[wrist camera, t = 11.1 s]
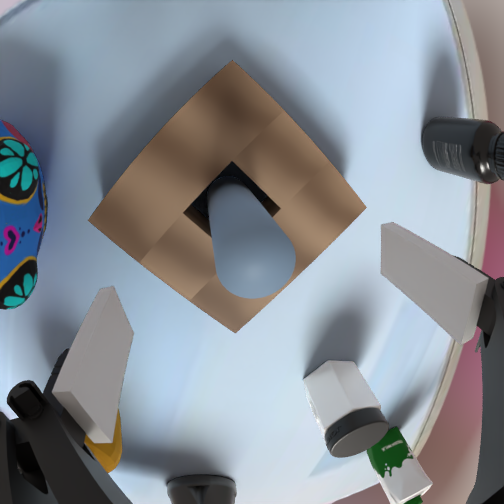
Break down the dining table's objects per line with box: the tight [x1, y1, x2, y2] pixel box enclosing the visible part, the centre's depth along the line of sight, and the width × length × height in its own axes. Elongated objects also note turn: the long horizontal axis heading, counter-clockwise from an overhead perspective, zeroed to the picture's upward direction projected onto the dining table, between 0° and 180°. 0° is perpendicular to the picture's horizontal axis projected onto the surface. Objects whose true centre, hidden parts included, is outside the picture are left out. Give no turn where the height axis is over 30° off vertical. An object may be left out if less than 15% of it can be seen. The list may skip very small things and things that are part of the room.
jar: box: [303, 360, 389, 458], centre depth 36 cm, size 9×8×12 cm
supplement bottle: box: [422, 117, 504, 184], centre depth 24 cm, size 7×7×12 cm
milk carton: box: [367, 427, 433, 504], centre depth 45 cm, size 9×9×20 cm
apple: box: [84, 409, 122, 473], centre depth 30 cm, size 11×11×13 cm
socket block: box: [88, 60, 367, 333], centre depth 26 cm, size 17×17×5 cm
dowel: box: [207, 176, 296, 299], centre depth 22 cm, size 4×4×15 cm
